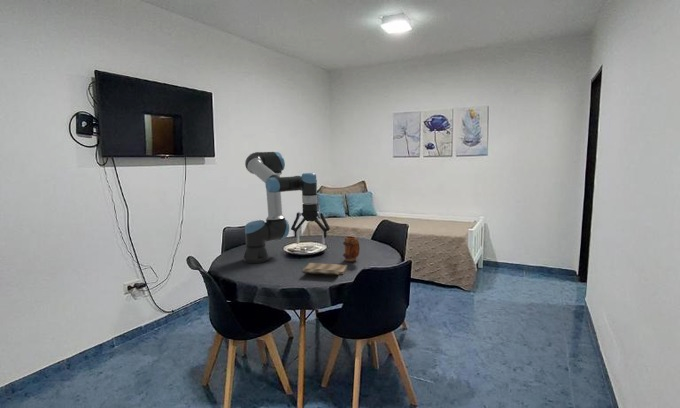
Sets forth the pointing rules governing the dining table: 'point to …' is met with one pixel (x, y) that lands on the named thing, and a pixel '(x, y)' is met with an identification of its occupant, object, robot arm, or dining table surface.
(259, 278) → the dining table surface
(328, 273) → the plank
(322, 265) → the floorboard
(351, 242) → the mug
